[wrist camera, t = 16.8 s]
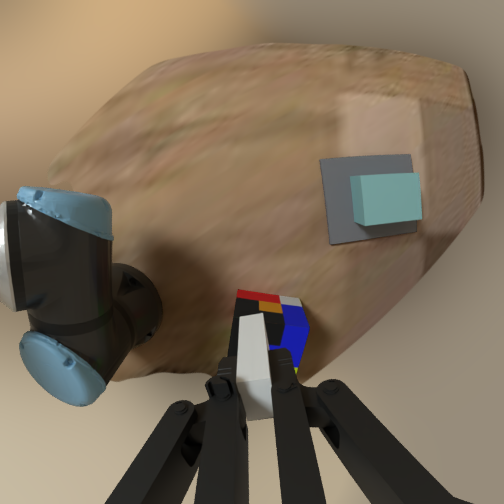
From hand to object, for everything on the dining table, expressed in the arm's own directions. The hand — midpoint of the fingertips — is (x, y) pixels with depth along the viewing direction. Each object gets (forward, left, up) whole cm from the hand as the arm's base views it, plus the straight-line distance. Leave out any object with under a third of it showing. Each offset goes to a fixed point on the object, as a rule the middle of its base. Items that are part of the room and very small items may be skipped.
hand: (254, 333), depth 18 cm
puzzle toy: (0, -13, -26) cm, 29 cm away
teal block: (+16, +5, -23) cm, 28 cm away
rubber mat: (+20, +5, -26) cm, 33 cm away
